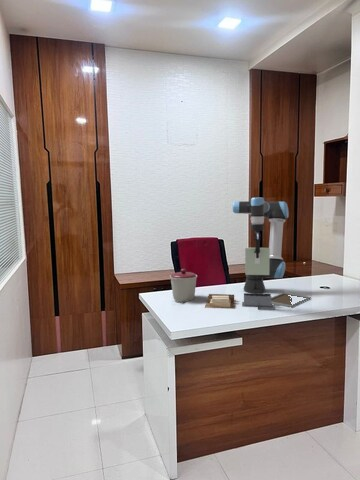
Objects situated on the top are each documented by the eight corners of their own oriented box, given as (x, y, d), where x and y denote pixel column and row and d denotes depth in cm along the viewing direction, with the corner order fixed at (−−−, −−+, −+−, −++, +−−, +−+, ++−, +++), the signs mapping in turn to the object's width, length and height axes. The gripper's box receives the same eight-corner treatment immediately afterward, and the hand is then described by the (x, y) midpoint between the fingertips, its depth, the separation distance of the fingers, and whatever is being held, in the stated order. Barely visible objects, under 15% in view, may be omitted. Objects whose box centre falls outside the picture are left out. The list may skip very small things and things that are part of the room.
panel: (245, 273, 215) (245, 247, 213) (269, 274, 212) (269, 247, 211) (245, 274, 212) (245, 248, 211) (269, 275, 210) (269, 248, 208)
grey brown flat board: (311, 296, 231) (289, 307, 210) (311, 299, 231) (289, 309, 210) (283, 292, 244) (261, 301, 223) (283, 294, 244) (261, 303, 223)
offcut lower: (211, 303, 219) (211, 299, 219) (230, 303, 217) (230, 299, 217) (209, 306, 211) (209, 302, 211) (230, 307, 209) (230, 303, 209)
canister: (200, 297, 239) (199, 266, 236) (194, 305, 221) (193, 271, 219) (174, 296, 243) (174, 266, 241) (166, 303, 226) (165, 270, 224)
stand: (242, 304, 221) (242, 292, 220) (271, 305, 217) (272, 293, 217) (242, 308, 211) (242, 296, 210) (273, 310, 208) (273, 297, 207)
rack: (207, 301, 229) (207, 292, 229) (235, 301, 226) (235, 293, 226) (204, 310, 210) (204, 301, 209) (235, 311, 207) (235, 302, 206)
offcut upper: (212, 299, 218) (212, 295, 218) (228, 299, 217) (228, 295, 217) (212, 302, 211) (212, 298, 211) (229, 302, 210) (229, 298, 210)
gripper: (250, 223, 218) (250, 260, 220) (251, 224, 202) (251, 265, 204) (263, 223, 216) (263, 261, 218) (264, 224, 201) (264, 265, 203)
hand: (257, 262), depth 211 cm, fingers closed on panel, 2 cm apart
